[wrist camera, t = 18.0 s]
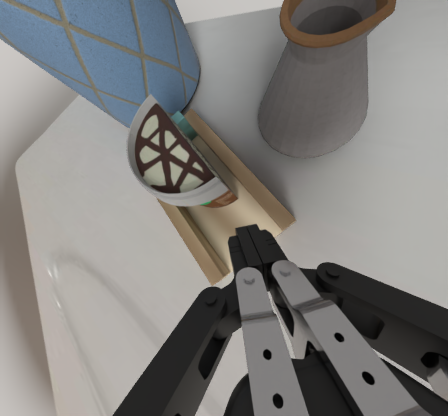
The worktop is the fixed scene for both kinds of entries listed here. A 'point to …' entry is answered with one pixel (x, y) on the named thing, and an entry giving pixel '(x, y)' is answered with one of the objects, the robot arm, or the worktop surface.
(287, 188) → the worktop surface
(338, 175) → the worktop surface
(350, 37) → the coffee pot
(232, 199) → the food container
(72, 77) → the planter
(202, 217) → the channel board
